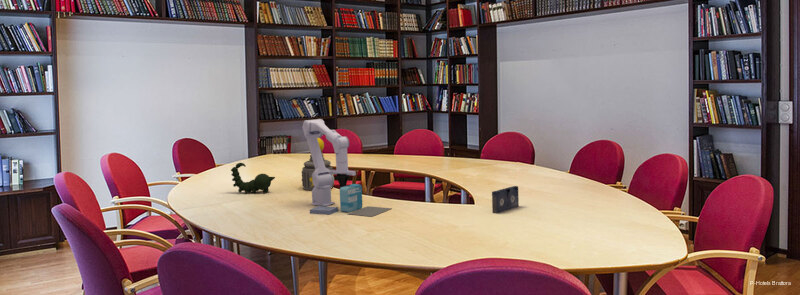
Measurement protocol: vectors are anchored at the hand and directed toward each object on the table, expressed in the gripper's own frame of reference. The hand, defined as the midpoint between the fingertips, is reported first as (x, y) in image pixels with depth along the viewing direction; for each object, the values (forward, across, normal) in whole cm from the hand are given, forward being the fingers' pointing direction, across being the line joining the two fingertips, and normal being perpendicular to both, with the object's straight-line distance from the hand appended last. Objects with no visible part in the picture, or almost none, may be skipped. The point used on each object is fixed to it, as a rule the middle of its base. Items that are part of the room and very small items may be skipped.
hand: (343, 189), depth 306 cm
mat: (+10, -15, 0) cm, 18 cm away
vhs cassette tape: (+10, -73, -27) cm, 79 cm away
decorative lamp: (+10, +49, -43) cm, 65 cm away
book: (+10, +6, +9) cm, 15 cm away
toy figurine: (+10, +76, -18) cm, 78 cm away
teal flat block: (+10, -4, 0) cm, 11 cm away
